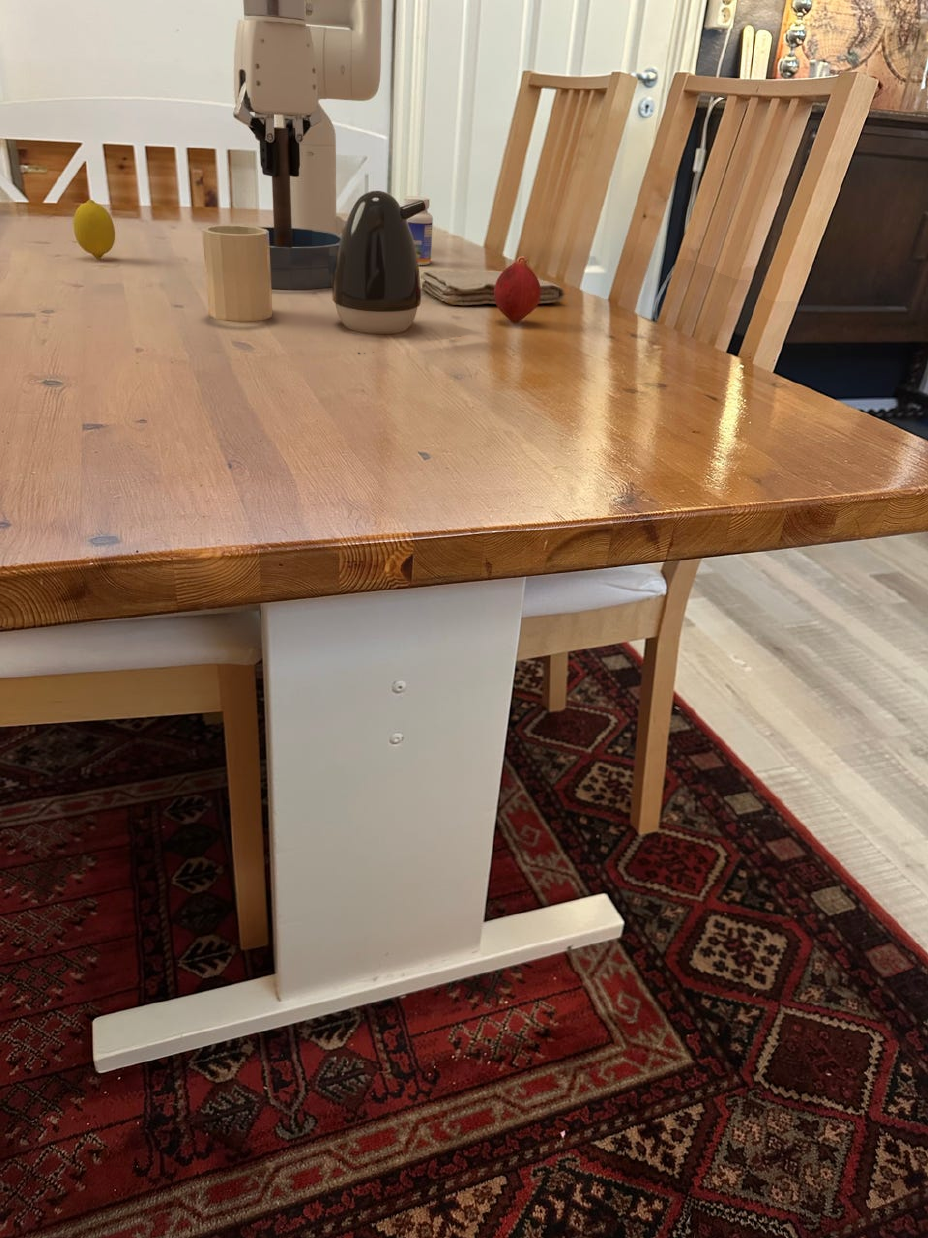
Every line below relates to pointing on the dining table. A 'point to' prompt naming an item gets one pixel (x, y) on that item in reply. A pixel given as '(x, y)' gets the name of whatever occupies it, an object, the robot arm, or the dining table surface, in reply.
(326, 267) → the bowl
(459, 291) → the washcloth
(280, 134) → the stick
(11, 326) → the dining table surface
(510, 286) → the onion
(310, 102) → the robot arm
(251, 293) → the crock
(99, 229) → the lemon
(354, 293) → the pump dispenser
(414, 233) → the pill bottle
